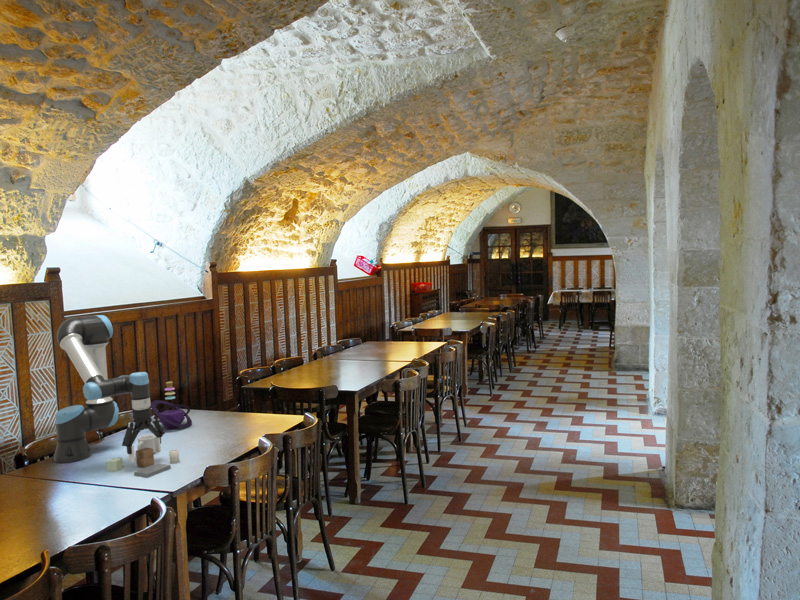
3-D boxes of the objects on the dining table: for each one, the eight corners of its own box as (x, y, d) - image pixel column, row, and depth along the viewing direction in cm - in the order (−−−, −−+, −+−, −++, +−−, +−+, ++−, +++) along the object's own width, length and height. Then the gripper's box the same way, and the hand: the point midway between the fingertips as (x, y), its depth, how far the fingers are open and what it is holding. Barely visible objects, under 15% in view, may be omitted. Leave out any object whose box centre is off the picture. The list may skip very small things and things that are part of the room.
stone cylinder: (167, 463, 271) (167, 451, 271) (175, 460, 275) (174, 449, 274) (174, 464, 269) (173, 452, 269) (181, 461, 273) (180, 450, 273)
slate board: (134, 475, 257) (133, 471, 257) (157, 466, 267) (157, 462, 267) (147, 477, 253) (147, 474, 253) (170, 468, 263) (170, 465, 263)
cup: (146, 458, 279) (145, 441, 279) (131, 458, 281) (130, 441, 280) (160, 451, 290) (159, 434, 289) (145, 451, 291) (144, 434, 291)
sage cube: (107, 471, 263) (106, 461, 263) (113, 468, 268) (112, 458, 268) (117, 471, 263) (116, 461, 262) (123, 468, 267) (122, 458, 267)
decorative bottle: (184, 432, 321) (181, 385, 319) (144, 434, 321) (140, 387, 320) (198, 421, 343) (195, 377, 342) (161, 423, 344) (158, 378, 342)
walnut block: (136, 466, 268) (135, 450, 268) (146, 463, 273) (145, 447, 272) (144, 467, 266) (143, 452, 266) (154, 464, 270) (153, 448, 270)
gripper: (122, 415, 255) (126, 466, 256) (170, 402, 277) (174, 448, 278) (110, 414, 259) (114, 464, 260) (158, 401, 281) (162, 447, 282)
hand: (145, 456), depth 269 cm, fingers open, 13 cm apart
